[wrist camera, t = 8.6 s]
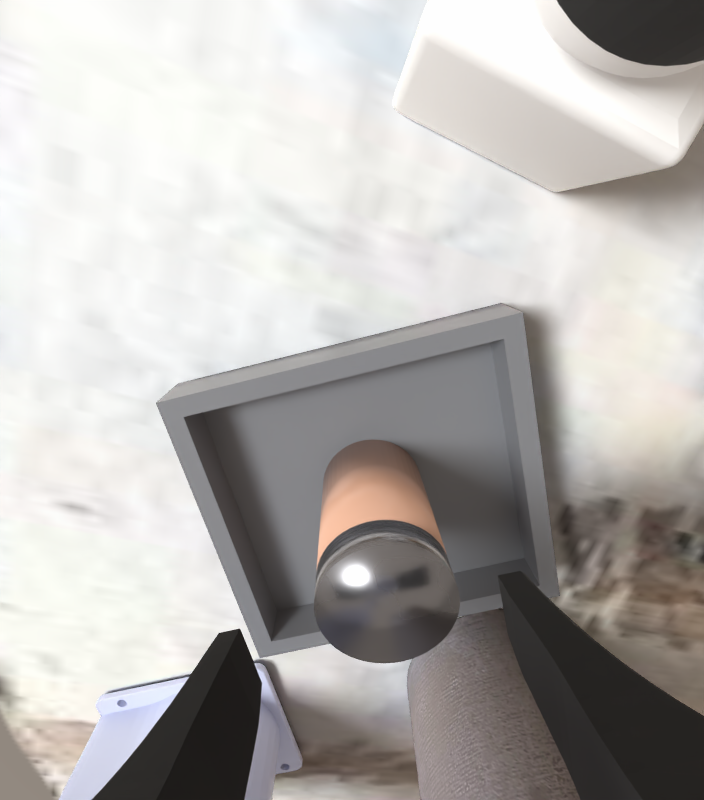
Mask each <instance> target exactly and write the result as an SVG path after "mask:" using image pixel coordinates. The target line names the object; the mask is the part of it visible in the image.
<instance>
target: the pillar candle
mask: <svg viewBox="0 0 704 800" xmlns="http://www.w3.org/2000/svg"><path fill="white" fill-rule="evenodd" d="M407 689H408V700H409V707H410V715H411V722H412V731H413V741H414V748H415V758H416V765H417V773H418V783H419V790H420V797H421V800H580V797H579V795H578V792H577V790H576V787H575V785H574V782H573V780H572V778H571V776H570V773H569V771H568V769H567V766H566V764H565V762H564V760H563V758H562V756H561V754H560V752H559V750H558V748H557V745H556V743H555V741H554V739H553V737H552V735H551V733H550V731H549V729H548V727H547V725H546V723H545V721H544V718H543V716H542V714H541V712H540V710H539V708H538V706H537V704H536V702H535V700H534V698H533V696H532V693H531V691H530V689H529V687H528V685H527V683H526V681H525V679H524V677H523V674H522V672H521V669H520V667H519V664H518V661H517V659H516V656H515V653H514V650H513V647H512V645H511V642H510V639H509V636H508V633H507V627H506V621H505V616H504V610H502V609H494V610H489V611H484V612H479V613H475V614H470V615H466V616H463V617H461V618H457V620H456V622H455V624H454V626H453V628H452V629H451V631H450V632H449V634H448V635H447V636H446V637H445V638H444V639H443V641H441V642H440V643H439V644H438V645H437V646H436V647H434V648H433V649H431V650H430V651H428V652H426V653H424V654H422V655H420V656H418V657H415V658H413V659H412V662H411V664H410V666H409V670H408V677H407Z"/></svg>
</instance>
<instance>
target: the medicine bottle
mask: <svg viewBox="0 0 704 800" xmlns="http://www.w3.org/2000/svg"><path fill="white" fill-rule="evenodd" d="M393 107H394V109H395V110H396V111H397V112H398V113H399V114H401V115H403V116H405V117H407V118H409V119H411V120H413V121H415V122H417V123H419V124H421V125H423V126H425V127H427V128H429V129H431V130H433V131H435V132H437V133H439V134H441V135H442V136H444V137H446V138H448V139H450V140H452V141H454V142H456V143H458V144H460V145H462V146H464V147H466V148H468V149H470V150H472V151H474V152H476V153H478V154H480V155H482V156H484V157H486V158H488V159H489V160H491V161H493V162H495V163H497V164H499V165H501V166H503V167H505V168H507V169H509V170H511V171H513V172H515V173H517V174H519V175H521V176H523V177H525V178H527V179H529V180H531V181H533V182H534V183H536V184H538V185H540V186H542V187H544V188H546V189H548V190H550V191H552V192H561V191H565V190H570V189H575V188H579V187H584V186H588V185H593V184H598V183H602V182H607V181H612V180H616V179H621V178H625V177H630V176H635V175H639V174H644V173H649V172H653V171H658V170H662V169H667V168H669V167H672V166H674V165H676V164H677V163H679V162H680V161H681V160H682V158H683V157H684V156H685V154H686V153H687V151H688V149H689V148H690V146H691V144H692V143H693V141H694V139H695V138H696V136H697V134H698V133H699V131H700V129H701V128H702V126H703V124H704V0H428V2H427V4H426V7H425V9H424V12H423V14H422V17H421V19H420V22H419V25H418V28H417V31H416V34H415V37H414V40H413V42H412V45H411V48H410V51H409V54H408V57H407V60H406V62H405V65H404V68H403V71H402V74H401V77H400V80H399V82H398V85H397V88H396V91H395V94H394V97H393Z"/></svg>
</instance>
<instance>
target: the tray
mask: <svg viewBox="0 0 704 800" xmlns="http://www.w3.org/2000/svg"><path fill="white" fill-rule="evenodd" d="M156 404H157V407H158V409H159V412H160V414H161V416H162V419H163V421H164V424H165V426H166V429H167V431H168V434H169V436H170V439H171V441H172V443H173V446H174V448H175V451H176V453H177V456H178V458H179V461H180V463H181V466H182V468H183V470H184V473H185V475H186V478H187V480H188V483H189V485H190V488H191V490H192V493H193V495H194V497H195V500H196V502H197V505H198V507H199V510H200V512H201V515H202V517H203V520H204V522H205V524H206V527H207V529H208V532H209V534H210V537H211V539H212V542H213V544H214V547H215V549H216V551H217V554H218V556H219V559H220V561H221V564H222V566H223V569H224V571H225V573H226V576H227V578H228V581H229V583H230V586H231V588H232V591H233V593H234V596H235V598H236V600H237V603H238V605H239V608H240V610H241V613H242V615H243V618H244V620H245V623H246V625H247V627H248V630H249V632H250V635H251V637H252V640H253V642H254V645H255V647H256V650H257V652H258V654H259V657H260V658H263V657H268V656H273V655H277V654H282V653H287V652H292V651H297V650H301V649H306V648H311V647H316V646H321V645H325V644H330V643H329V641H328V640H327V639H326V638H325V637H324V635H323V634H322V632H321V631H320V629H319V627H318V625H317V622H316V619H315V614H314V597H315V584H316V571H317V558H318V544H319V531H320V518H321V505H322V491H323V479H324V474H325V471H326V468H327V466H328V464H329V462H330V461H331V460H332V458H333V457H334V456H335V455H336V454H337V453H338V452H339V451H341V450H342V449H343V448H345V447H346V446H348V445H351V444H353V443H356V442H359V441H363V440H383V441H387V442H391V443H393V444H395V445H398V446H399V447H401V448H403V449H404V450H405V451H406V452H408V454H409V455H410V456H411V457H412V458H413V460H414V461H415V463H416V465H417V467H418V469H419V472H420V475H421V478H422V481H423V484H424V487H425V490H426V493H427V496H428V499H429V502H430V505H431V508H432V511H433V515H434V518H435V521H436V524H437V527H438V530H439V533H440V536H441V539H442V542H443V545H444V548H445V551H446V554H447V557H448V560H449V563H450V566H451V569H452V572H453V575H454V578H455V581H456V584H457V587H458V590H459V595H460V608H459V614H458V617H460V616H465V615H470V614H475V613H479V612H484V611H489V610H494V609H499V608H503V604H502V598H501V592H500V587H499V581H498V575H502V574H507V573H512V572H517V571H521V572H523V573H525V574H526V575H527V577H528V578H529V579H530V580H531V581H532V582H533V583H534V584H535V585H536V586H537V587H538V588H539V589H540V590H541V591H542V592H543V594H544V595H545V596H546V597H547V598H551V597H556V596H560V594H559V586H558V578H557V571H556V563H555V555H554V548H553V540H552V532H551V524H550V517H549V509H548V501H547V494H546V486H545V478H544V471H543V463H542V455H541V447H540V440H539V432H538V424H537V417H536V409H535V401H534V394H533V386H532V378H531V371H530V363H529V355H528V347H527V340H526V332H525V324H524V317H523V312H521V311H519V310H516V309H514V308H512V307H509V306H507V305H504V304H502V303H500V304H496V305H492V306H488V307H484V308H480V309H476V310H472V311H468V312H464V313H460V314H456V315H452V316H448V317H444V318H440V319H436V320H432V321H428V322H424V323H420V324H416V325H412V326H408V327H404V328H400V329H395V330H391V331H387V332H383V333H379V334H375V335H371V336H367V337H363V338H359V339H355V340H351V341H347V342H343V343H339V344H335V345H331V346H327V347H323V348H319V349H315V350H311V351H307V352H303V353H299V354H295V355H291V356H287V357H283V358H279V359H275V360H271V361H267V362H263V363H259V364H255V365H251V366H247V367H243V368H239V369H235V370H231V371H227V372H223V373H219V374H215V375H211V376H207V377H203V378H199V379H195V380H191V381H187V382H183V383H179V384H177V385H176V386H175V387H174V388H172V389H171V390H170V391H169V392H168V393H167V394H166V395H164V396H163V397H162V398H161V399H160V400H159V401H158V402H156Z"/></svg>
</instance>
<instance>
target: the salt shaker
mask: <svg viewBox="0 0 704 800" xmlns="http://www.w3.org/2000/svg"><path fill="white" fill-rule="evenodd" d="M459 608H460V595H459V590H458V587H457V584H456V581H455V578H454V575H453V572H452V569H451V566H450V563H449V560H448V557H447V554H446V551H445V548H444V545H443V542H442V539H441V536H440V533H439V530H438V527H437V524H436V521H435V518H434V515H433V511H432V508H431V505H430V502H429V499H428V496H427V493H426V490H425V487H424V484H423V481H422V478H421V475H420V472H419V469H418V467H417V465H416V463H415V461H414V460H413V458H412V457H411V456H410V455H409V454H408V452H406V451H405V450H404V449H403V448H401V447H399V446H398V445H395V444H393V443H391V442H387V441H383V440H363V441H359V442H356V443H353V444H351V445H348V446H346V447H345V448H343V449H342V450H341V451H339V452H338V453H337V454H336V455H335V456H334V457H333V458H332V460H331V461H330V462H329V464H328V466H327V468H326V471H325V474H324V479H323V491H322V505H321V518H320V531H319V544H318V558H317V571H316V584H315V597H314V614H315V619H316V622H317V625H318V627H319V629H320V631H321V632H322V634H323V635H324V637H325V638H326V639H327V640H328V641H329V643H330V644H332V645H333V646H334V647H335V648H336V649H338V650H339V651H341V652H343V653H344V654H346V655H348V656H350V657H353V658H356V659H359V660H363V661H367V662H374V663H395V662H401V661H405V660H409V659H413V658H415V657H418V656H420V655H422V654H424V653H426V652H428V651H430V650H431V649H433V648H434V647H436V646H437V645H438V644H439V643H440V642H441V641H443V639H444V638H445V637H446V636H447V635H448V634H449V632H450V631H451V629H452V628H453V626H454V624H455V622H456V620H457V617H458V614H459Z"/></svg>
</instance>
